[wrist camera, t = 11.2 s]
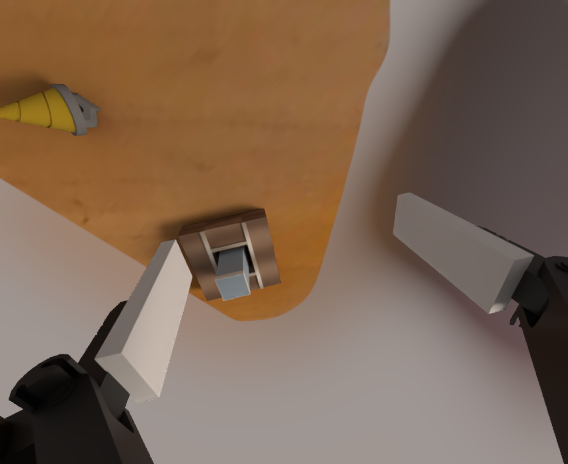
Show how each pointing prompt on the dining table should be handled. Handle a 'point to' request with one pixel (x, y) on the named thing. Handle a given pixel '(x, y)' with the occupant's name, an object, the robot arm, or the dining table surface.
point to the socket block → (224, 235)
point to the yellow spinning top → (54, 110)
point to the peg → (233, 273)
